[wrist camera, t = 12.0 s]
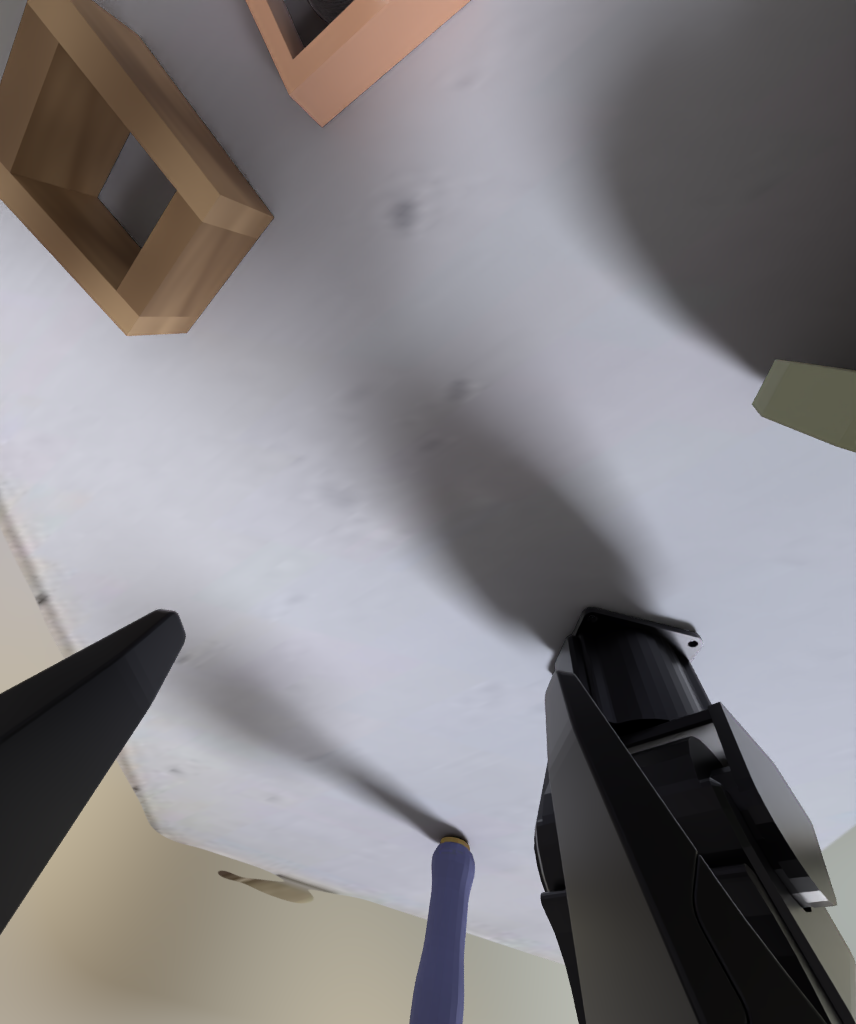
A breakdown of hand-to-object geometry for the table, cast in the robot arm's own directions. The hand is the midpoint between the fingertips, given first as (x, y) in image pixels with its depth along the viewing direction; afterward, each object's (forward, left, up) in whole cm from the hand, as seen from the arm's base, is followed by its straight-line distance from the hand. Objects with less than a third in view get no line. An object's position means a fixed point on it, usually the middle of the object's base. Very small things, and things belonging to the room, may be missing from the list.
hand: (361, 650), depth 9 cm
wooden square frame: (+15, -9, -13) cm, 21 cm away
